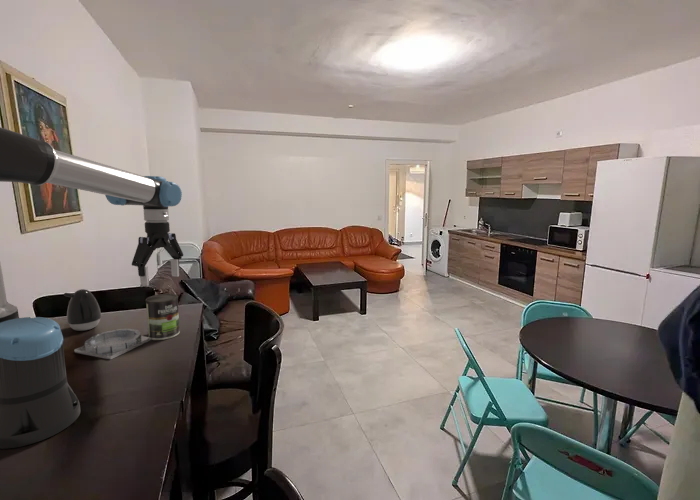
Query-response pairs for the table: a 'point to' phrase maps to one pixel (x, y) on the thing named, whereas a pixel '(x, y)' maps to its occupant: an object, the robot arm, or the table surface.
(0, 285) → the robot arm
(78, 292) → the pump dispenser
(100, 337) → the duct collar
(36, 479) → the table surface
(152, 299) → the coffee can
